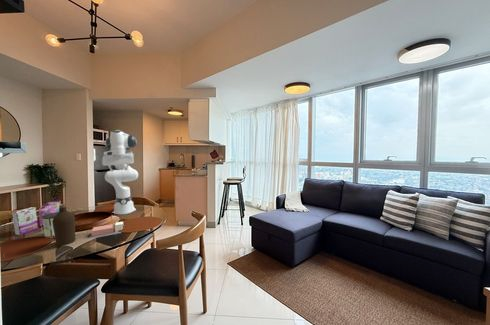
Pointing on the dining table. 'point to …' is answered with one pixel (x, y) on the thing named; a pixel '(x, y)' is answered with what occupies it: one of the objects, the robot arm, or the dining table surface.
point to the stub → (118, 226)
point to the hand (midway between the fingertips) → (119, 170)
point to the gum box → (48, 209)
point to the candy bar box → (25, 220)
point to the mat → (103, 235)
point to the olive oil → (64, 227)
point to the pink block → (103, 230)
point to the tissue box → (49, 224)
